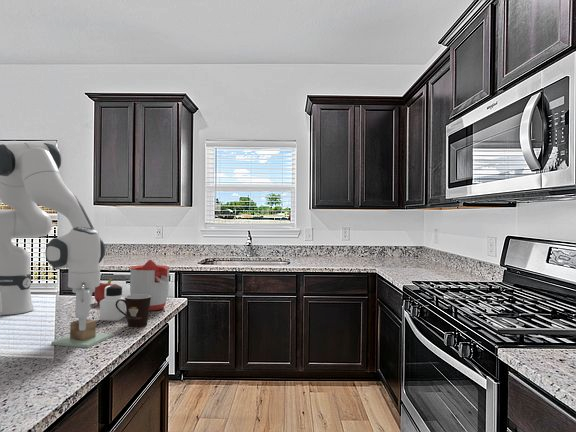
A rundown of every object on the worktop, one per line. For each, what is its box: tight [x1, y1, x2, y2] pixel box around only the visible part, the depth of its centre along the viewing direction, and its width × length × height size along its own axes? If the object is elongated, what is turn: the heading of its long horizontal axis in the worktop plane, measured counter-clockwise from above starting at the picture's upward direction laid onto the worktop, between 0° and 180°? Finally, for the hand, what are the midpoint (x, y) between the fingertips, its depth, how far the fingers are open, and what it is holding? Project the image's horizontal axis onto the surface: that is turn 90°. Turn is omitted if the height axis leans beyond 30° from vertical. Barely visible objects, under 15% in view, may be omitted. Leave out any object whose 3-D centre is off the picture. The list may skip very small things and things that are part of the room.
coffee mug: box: [116, 294, 151, 328], centre depth 158 cm, size 12×9×10 cm
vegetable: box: [93, 278, 120, 304], centre depth 193 cm, size 11×10×10 cm
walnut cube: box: [69, 318, 97, 341], centre depth 138 cm, size 5×5×5 cm
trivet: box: [51, 332, 112, 349], centre depth 138 cm, size 12×12×1 cm
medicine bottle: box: [99, 284, 126, 322], centre depth 166 cm, size 7×7×12 cm
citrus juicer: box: [129, 259, 171, 312], centre depth 184 cm, size 16×17×20 cm
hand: (82, 325), depth 138 cm, fingers open, 8 cm apart
